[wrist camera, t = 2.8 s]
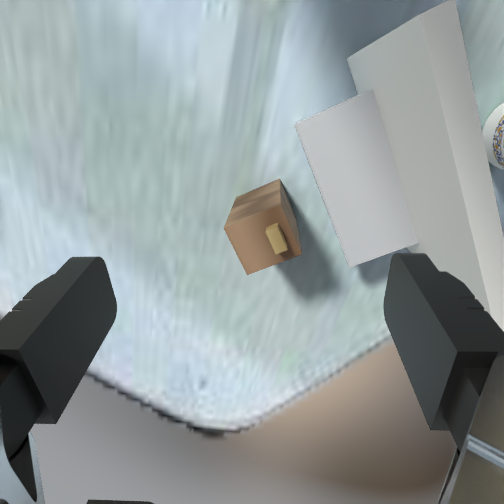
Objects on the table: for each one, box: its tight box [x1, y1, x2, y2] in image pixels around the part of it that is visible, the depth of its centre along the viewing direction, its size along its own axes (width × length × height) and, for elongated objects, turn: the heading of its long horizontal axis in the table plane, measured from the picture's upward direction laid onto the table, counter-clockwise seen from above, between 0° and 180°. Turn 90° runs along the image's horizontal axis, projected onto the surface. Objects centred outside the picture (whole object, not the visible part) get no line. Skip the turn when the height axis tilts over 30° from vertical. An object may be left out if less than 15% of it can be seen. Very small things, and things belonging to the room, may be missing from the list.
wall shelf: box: [294, 0, 504, 332], centre depth 28 cm, size 12×20×18 cm, turn 24°
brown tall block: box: [224, 179, 302, 275], centre depth 33 cm, size 5×5×11 cm
